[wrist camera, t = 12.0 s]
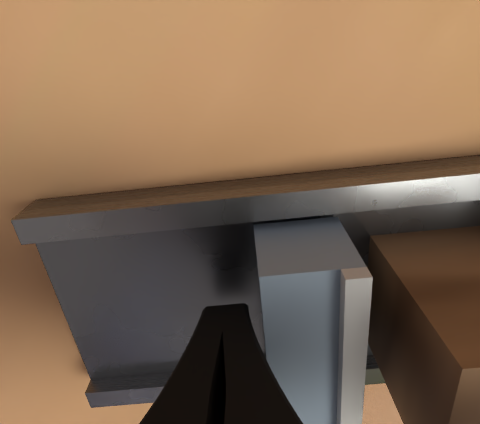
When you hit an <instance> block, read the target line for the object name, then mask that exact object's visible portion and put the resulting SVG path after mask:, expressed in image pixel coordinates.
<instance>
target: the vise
mask: <svg viewBox="0 0 480 424" xmlns="http://www.w3.org/2000/svg"><path fill="white" fill-rule="evenodd" d="M328 217H338V219H339V220H340V222H341V224H342V225H343V227H344V229H345V231H346V232H347V234H348V236H349V237H350V239H351V241H352V243H353V244H354V246H355V248H356V249H357V251H358V253H359V255H360V256H361V258H362V260H363V261H364V263H365V265H366V266H367V268H368V257H369V243H370V236H373V235H384V234H395V233H406V232H417V231H428V230H439V229H450V228H461V227H472V226H480V155H477V156H467V157H457V158H447V159H437V160H427V161H417V162H408V163H398V164H388V165H378V166H368V167H358V168H348V169H338V170H328V171H318V172H308V173H299V174H289V175H279V176H269V177H259V178H249V179H239V180H229V181H219V182H209V183H199V184H189V185H180V186H170V187H160V188H150V189H140V190H130V191H120V192H110V193H100V194H90V195H80V196H71V197H61V198H51V199H41V200H35V201H34V202H33V203H31V204H30V205H29V206H28V207H26V208H25V209H24V210H23V211H22V212H20V213H19V214H18V215H17V216H15V217H14V218H13V219H12V220H11V222H12V224H13V226H14V229H15V231H16V233H17V236H18V238H19V240H20V243H21V245H23V244H33V243H35V244H36V246H37V249H38V251H39V253H40V256H41V258H42V261H43V263H44V266H45V268H46V271H47V273H48V276H49V278H50V281H51V283H52V285H53V288H54V290H55V293H56V295H57V298H58V300H59V303H60V305H61V308H62V310H63V312H64V315H65V317H66V320H67V322H68V325H69V327H70V330H71V332H72V335H73V337H74V339H75V342H76V344H77V347H78V349H79V352H80V354H81V357H82V359H83V362H84V364H85V366H86V369H87V371H88V374H89V376H90V379H91V380H90V383H89V385H88V387H87V390H86V392H85V395H86V397H87V399H88V402H89V404H90V406H91V408H93V407H105V406H117V405H129V404H141V403H153V402H155V400H156V399H157V397H158V396H159V394H160V392H161V391H162V389H163V388H164V386H165V384H166V383H167V381H168V379H169V377H170V376H171V374H172V372H173V371H174V369H175V367H176V366H177V364H178V362H179V360H180V358H181V356H182V354H183V352H184V351H185V349H186V347H187V345H188V343H189V341H190V339H191V337H192V335H193V332H194V330H195V328H196V326H197V324H198V321H199V319H200V316H201V314H202V311H203V309H204V308H205V307H206V306H217V305H227V304H238V303H245V304H246V305H248V308H249V315H250V319H251V323H252V326H253V329H254V332H255V334H256V337H257V340H258V342H259V345H260V347H261V349H262V351H263V353H264V356H265V358H266V352H265V341H264V331H263V320H262V310H261V299H260V289H259V278H258V268H257V258H256V247H255V237H254V226H253V225H256V224H266V223H277V222H287V221H297V220H308V219H318V218H328ZM380 383H385V380H384V378H383V376H382V374H381V371H380V369H379V367H378V365H377V362H376V360H375V358H374V356H373V353H372V351H371V349H370V347H369V344H368V348H367V362H366V375H365V385H368V384H380Z"/></svg>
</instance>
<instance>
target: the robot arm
mask: <svg viewBox="0 0 480 424" xmlns="http://www.w3.org/2000/svg"><path fill="white" fill-rule="evenodd" d="M139 424H303V422H302V421H301V419H300V418H299V416H298V415H297V413H296V412H295V410H294V409H293V407H292V405H291V404H290V402H289V401H288V399H287V397H286V395H285V394H284V392H283V390H282V389H281V387H280V385H279V383H278V381H277V379H276V378H275V376H274V374H273V372H272V370H271V368H270V366H269V364H268V362H267V360H266V358H265V356H264V353H263V351H262V349H261V347H260V345H259V342H258V340H257V337H256V334H255V332H254V329H253V326H252V323H251V319H250V315H249V308H248V305H246V304H245V303H238V304H227V305H217V306H206V307H205V308H204V309H203V311H202V314H201V316H200V319H199V321H198V324H197V326H196V328H195V330H194V332H193V335H192V337H191V339H190V341H189V343H188V345H187V347H186V349H185V351H184V352H183V354H182V356H181V358H180V360H179V362H178V364H177V366H176V367H175V369H174V371H173V372H172V374H171V376H170V377H169V379H168V381H167V383H166V384H165V386H164V388H163V389H162V391H161V392H160V394H159V396H158V397H157V399H156V400H155V402H154V403H153V405H152V406H151V408H150V409H149V411H148V412H147V414H146V415H145V416H144V418H143V419H142V421H141V422H140V423H139Z"/></svg>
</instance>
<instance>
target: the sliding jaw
mask: <svg viewBox="0 0 480 424" xmlns="http://www.w3.org/2000/svg"><path fill="white" fill-rule="evenodd" d="M253 226H254V237H255V247H256V258H257V268H258V278H259V289H260V299H261V310H262V320H263V331H264V341H265V352H266V360H267V362H268V364H269V366H270V368H271V370H272V372H273V374H274V376H275V378H276V379H277V381H278V383H279V385H280V387H281V389H282V390H283V392H284V394H285V395H286V397H287V399H288V401H289V402H290V404H291V405H292V407H293V409H294V410H295V412H296V413H297V415H298V416H299V418H300V419H301V421H302V422H303V424H362V415H363V402H364V388H365V375H366V362H367V348H368V335H369V322H370V308H371V295H372V281H373V277H372V275H371V273H370V272H369V270H368V268H367V266H366V265H365V263H364V261H363V260H362V258H361V256H360V255H359V253H358V251H357V249H356V248H355V246H354V244H353V243H352V241H351V239H350V237H349V236H348V234H347V232H346V231H345V229H344V227H343V225H342V224H341V222H340V220H339V219H338V217H328V218H318V219H308V220H297V221H287V222H277V223H266V224H256V225H253Z"/></svg>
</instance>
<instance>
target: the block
mask: <svg viewBox="0 0 480 424" xmlns="http://www.w3.org/2000/svg"><path fill="white" fill-rule="evenodd" d="M368 270H369V272H370V273H371V275H372V277H373V281H372V295H371V308H370V322H369V335H368V344H369V347H370V349H371V351H372V353H373V356H374V358H375V360H376V362H377V365H378V367H379V369H380V371H381V374H382V376H383V378H384V380H385V383H386V385H387V387H388V389H389V392H390V394H391V396H392V398H393V401H394V403H395V405H396V408H397V410H398V412H399V414H400V417H401V419H402V421H403V423H404V424H480V226H472V227H461V228H450V229H439V230H428V231H417V232H406V233H395V234H384V235H373V236H370V243H369V257H368Z"/></svg>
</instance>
